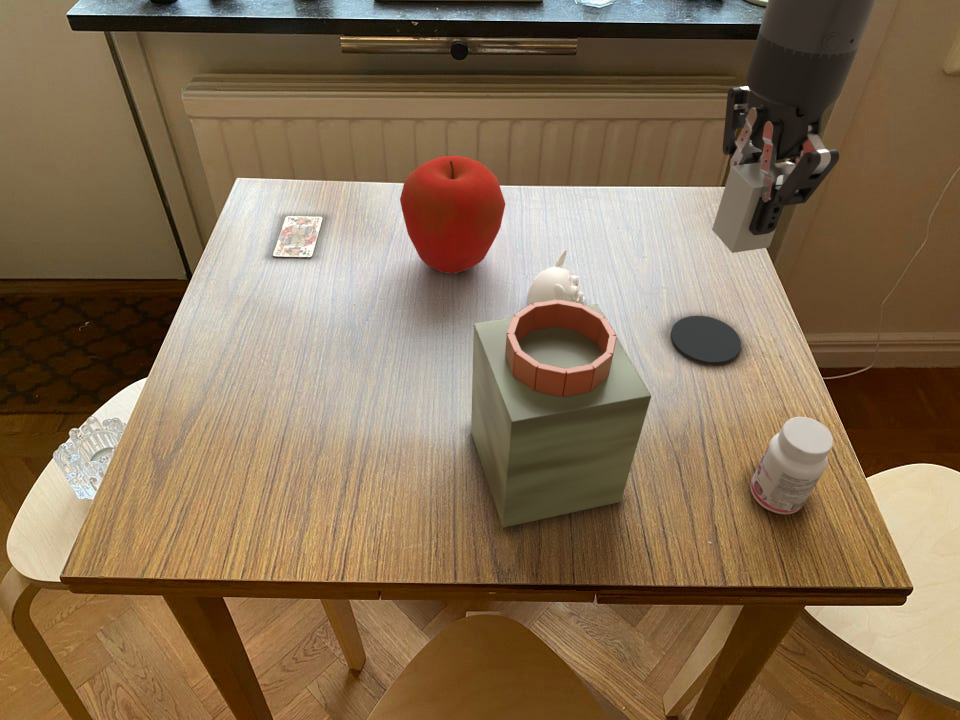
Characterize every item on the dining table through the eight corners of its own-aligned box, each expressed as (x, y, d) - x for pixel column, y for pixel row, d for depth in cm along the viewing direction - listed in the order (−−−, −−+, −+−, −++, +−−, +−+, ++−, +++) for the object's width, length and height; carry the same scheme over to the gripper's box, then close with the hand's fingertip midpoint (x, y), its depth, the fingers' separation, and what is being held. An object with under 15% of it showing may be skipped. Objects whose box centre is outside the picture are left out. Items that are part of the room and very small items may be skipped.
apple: (489, 303, 82) (493, 197, 72) (390, 286, 84) (382, 180, 74) (510, 243, 91) (517, 141, 81) (420, 228, 92) (416, 127, 83)
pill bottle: (747, 468, 66) (776, 408, 60) (800, 477, 65) (834, 417, 59) (750, 510, 63) (781, 451, 57) (806, 520, 62) (843, 462, 56)
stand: (621, 502, 63) (651, 395, 53) (502, 528, 61) (511, 422, 51) (577, 411, 70) (597, 303, 61) (470, 431, 68) (473, 323, 58)
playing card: (311, 257, 87) (311, 256, 87) (272, 256, 87) (272, 256, 87) (323, 216, 94) (323, 216, 94) (286, 216, 94) (286, 216, 94)
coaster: (753, 358, 77) (754, 355, 76) (689, 370, 75) (690, 367, 75) (719, 313, 82) (720, 311, 81) (659, 323, 80) (659, 321, 80)
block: (769, 247, 68) (793, 183, 63) (732, 253, 67) (753, 188, 62) (747, 224, 71) (769, 160, 66) (711, 229, 70) (731, 165, 65)
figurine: (582, 340, 78) (590, 294, 73) (524, 336, 78) (528, 289, 74) (581, 295, 84) (588, 249, 79) (527, 290, 84) (531, 244, 79)
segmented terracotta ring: (627, 385, 54) (633, 362, 52) (524, 404, 52) (526, 381, 50) (588, 316, 59) (592, 293, 58) (494, 331, 58) (495, 308, 56)
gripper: (912, 64, 51) (825, 257, 63) (801, -2, 61) (743, 176, 73) (822, 72, 50) (750, 268, 62) (722, 3, 59) (677, 185, 71)
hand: (747, 217), depth 67 cm, fingers closed on block, 4 cm apart
